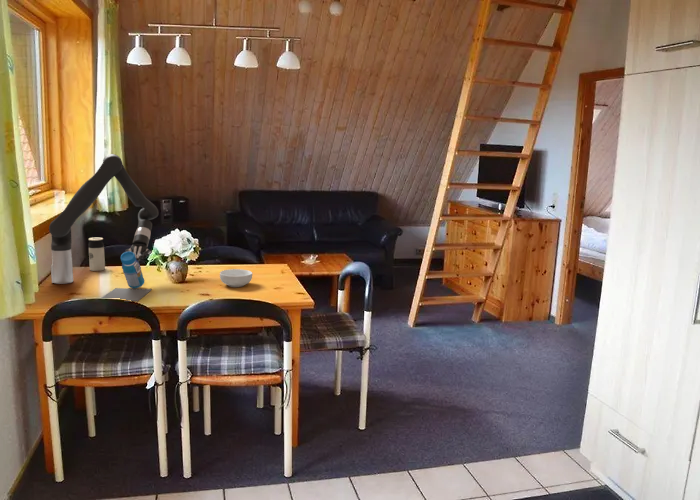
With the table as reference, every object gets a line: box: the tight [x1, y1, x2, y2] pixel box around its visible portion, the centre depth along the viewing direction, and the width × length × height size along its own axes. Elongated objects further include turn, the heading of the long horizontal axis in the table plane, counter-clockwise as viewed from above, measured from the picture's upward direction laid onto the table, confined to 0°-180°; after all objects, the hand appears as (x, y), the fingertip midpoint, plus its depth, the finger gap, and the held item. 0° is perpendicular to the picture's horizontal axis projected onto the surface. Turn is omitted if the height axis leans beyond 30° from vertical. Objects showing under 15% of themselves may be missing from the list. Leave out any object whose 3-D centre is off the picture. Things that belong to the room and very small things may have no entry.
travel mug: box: [87, 237, 106, 272], centre depth 330 cm, size 8×8×18 cm
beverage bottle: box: [120, 251, 145, 289], centre depth 290 cm, size 8×8×20 cm
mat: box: [101, 287, 152, 302], centre depth 283 cm, size 18×21×1 cm
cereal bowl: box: [219, 268, 253, 288], centre depth 307 cm, size 17×17×7 cm
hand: (134, 265), depth 293 cm, fingers closed
